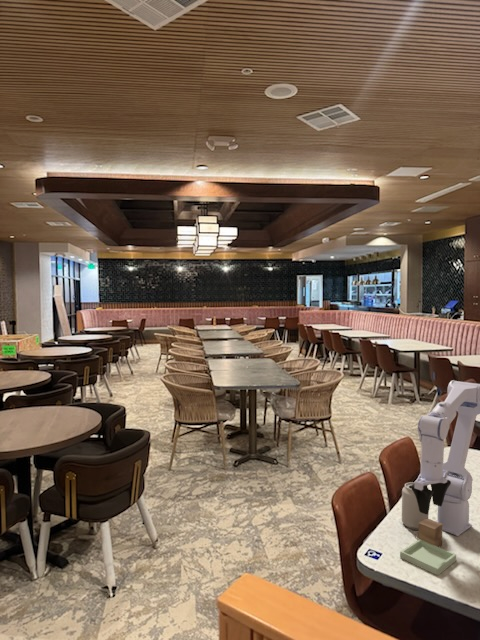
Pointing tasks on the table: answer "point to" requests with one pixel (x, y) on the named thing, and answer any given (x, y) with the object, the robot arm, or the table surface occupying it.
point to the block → (430, 532)
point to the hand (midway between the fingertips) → (430, 508)
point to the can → (411, 508)
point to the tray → (428, 556)
